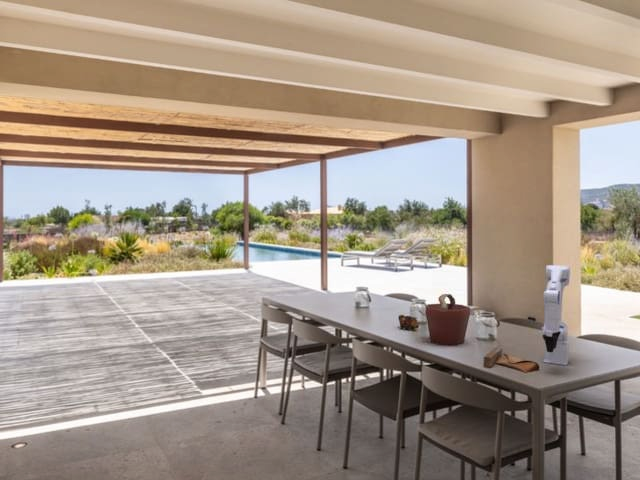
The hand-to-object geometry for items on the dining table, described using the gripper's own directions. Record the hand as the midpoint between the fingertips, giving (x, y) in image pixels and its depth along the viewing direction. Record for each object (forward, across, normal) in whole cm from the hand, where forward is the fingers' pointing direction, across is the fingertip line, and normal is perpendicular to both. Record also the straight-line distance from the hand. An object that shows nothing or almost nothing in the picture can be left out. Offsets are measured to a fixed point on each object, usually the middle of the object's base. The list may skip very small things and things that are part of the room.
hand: (551, 350), depth 218 cm
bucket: (+9, -26, -55) cm, 61 cm away
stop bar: (+8, +1, -24) cm, 25 cm away
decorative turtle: (+9, -46, -83) cm, 96 cm away
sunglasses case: (+9, +3, -14) cm, 17 cm away
